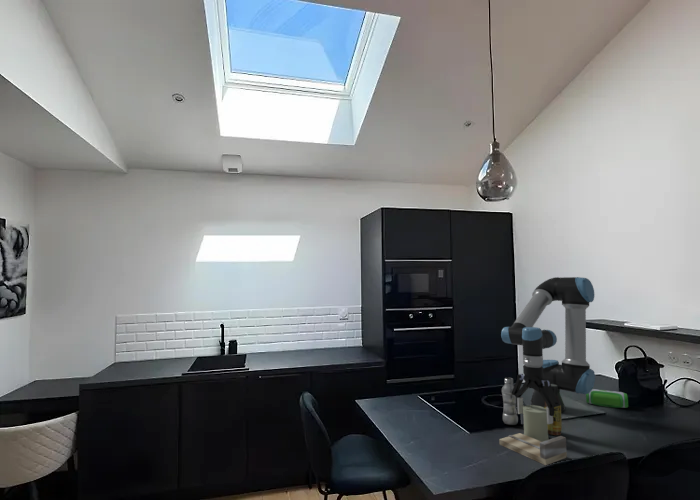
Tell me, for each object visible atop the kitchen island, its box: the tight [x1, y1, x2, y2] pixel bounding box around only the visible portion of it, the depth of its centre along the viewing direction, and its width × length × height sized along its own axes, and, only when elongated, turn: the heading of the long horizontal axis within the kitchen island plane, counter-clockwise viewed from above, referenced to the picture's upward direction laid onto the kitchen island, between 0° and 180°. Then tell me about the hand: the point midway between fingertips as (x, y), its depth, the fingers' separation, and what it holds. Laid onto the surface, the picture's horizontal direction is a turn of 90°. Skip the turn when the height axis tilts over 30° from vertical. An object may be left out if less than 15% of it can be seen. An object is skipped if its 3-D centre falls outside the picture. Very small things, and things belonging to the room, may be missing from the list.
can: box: [522, 404, 550, 442], centre depth 164 cm, size 9×9×12 cm
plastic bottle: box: [501, 377, 519, 426], centre depth 178 cm, size 6×7×20 cm
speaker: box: [585, 388, 629, 409], centre depth 200 cm, size 18×7×8 cm, turn 60°
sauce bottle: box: [545, 384, 563, 436], centre depth 168 cm, size 7×6×20 cm
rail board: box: [498, 432, 568, 466], centre depth 152 cm, size 20×12×7 cm, turn 29°
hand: (534, 418), depth 164 cm, fingers open, 13 cm apart
